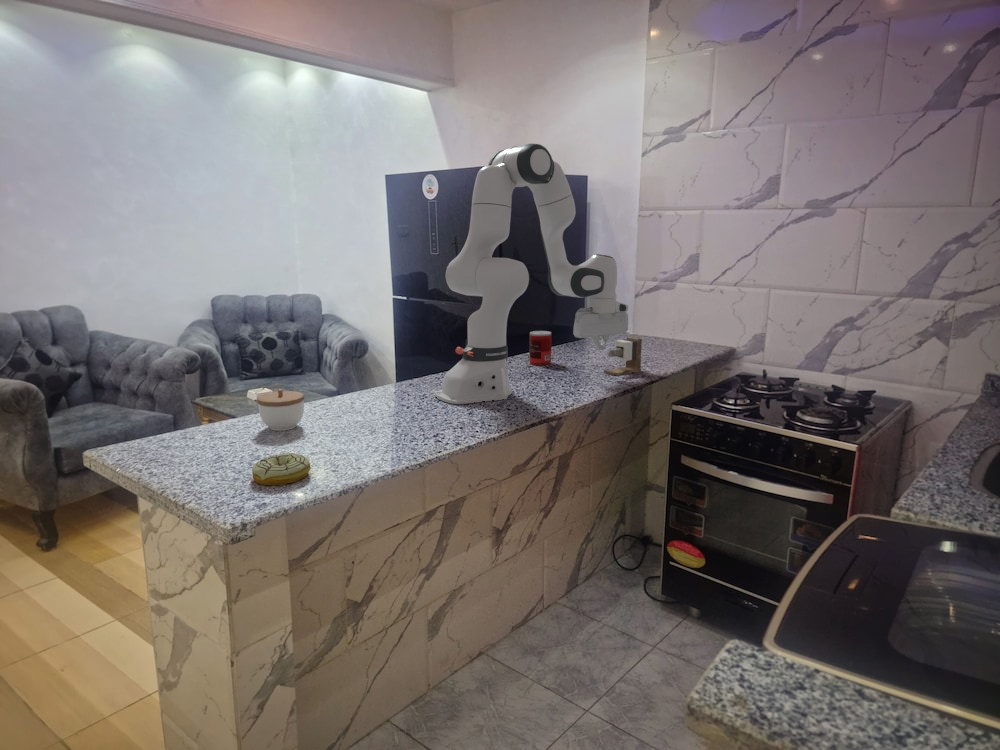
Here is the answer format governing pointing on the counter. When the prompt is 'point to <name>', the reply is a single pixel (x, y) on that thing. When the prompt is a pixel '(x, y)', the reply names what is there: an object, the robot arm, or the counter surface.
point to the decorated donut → (281, 469)
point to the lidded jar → (281, 409)
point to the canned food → (540, 347)
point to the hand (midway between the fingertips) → (600, 349)
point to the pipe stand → (630, 365)
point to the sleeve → (627, 350)
